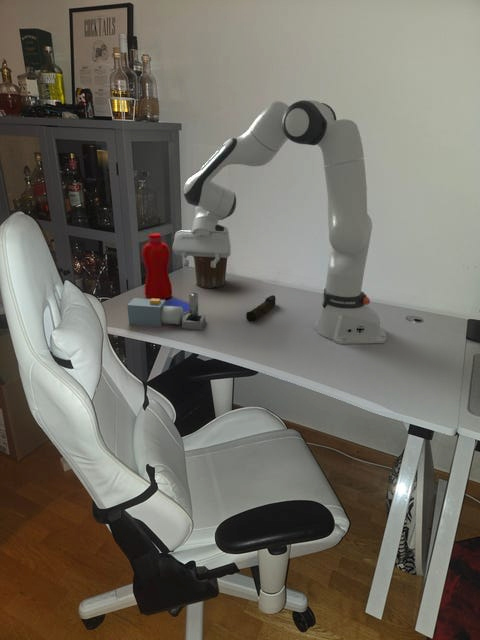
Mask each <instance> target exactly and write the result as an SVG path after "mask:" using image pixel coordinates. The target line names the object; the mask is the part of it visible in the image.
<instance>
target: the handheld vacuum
mask: <svg viewBox="0 0 480 640" xmlns="http://www.w3.org/2000/svg"><path fill="white" fill-rule="evenodd" d="M166 301H167V300H166V299H165V300H160V299H153V298H152V299H148V298H139V297H137V298H136V297H133V299H132V300H130V302H128V303H127V306H126V307H127V314H128V324H129V325H133V326H148V327H149V326H150V327H162V326H163V324H164V325H165V324H166V325H176V326H177V325H179V326H181V329H184V330H186V329H188V330H200V331H201V330H203V328H204V326H205V323H206V320H207V319H206V314H199V313H198V319H199V320H200V321H189V320H190V313H186V314H183V309H182V307H176V306H166ZM184 315H185V316H184Z"/></svg>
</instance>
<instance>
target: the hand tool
mask: <svg viewBox="0 0 480 640" xmlns="http://www.w3.org/2000/svg"><path fill="white" fill-rule="evenodd" d="M275 306H276V295H270V296H268V297H266V298H265V301H263V302H262V303H261V304H259V305H258V306H257V307H254V308H253V309H251V310H249V311H247V312H246V313H245V316H246V317H245V318H246V321H248V322H251V323H255V322H256V321H258V319H259V318H260V317H261V316H262V315H264V314H266V313H267V312H268V311H272V310H273V309H274V308H275Z"/></svg>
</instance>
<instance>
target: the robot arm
mask: <svg viewBox="0 0 480 640" xmlns="http://www.w3.org/2000/svg"><path fill="white" fill-rule="evenodd" d="M288 140H290V141H291V142H293V143H295V144H299V145H308V146H318V147H319V148H320V150H321V153H322V159H323V167H324V168H323V169H324V176H325V177H324V178H325V183H326V193H327V223H328V224H327V225H328V238H329V239H328V240H329V242H330V246H331V251H330V256H329V261H328V265H327V274H326V283H325V288H324V289H323V293H322V302H321V305H322V309H321V313H320V317H319V319H318V322H317V323H316V327H315V331H316V332H317V333H318V334H319V335H320V336H322V337H324V338H327V339H330V340H332V341H333V342H335V343H336V344H340V345H343V344H344V345H346V344H347V345H348V344H349V345H350V344H351V345H353V344H355V345H356V344H358V345H359V344H360V345H361V344H384V343H385V342H386V341H387V332H386V331H385V329H384V328H383V326H381V320H380V317H379V315H378V314H377V312H376V311H375V310H374V309H372V307H370V306H369V305H370V303H371V300H370V298H369V297H368V296H367V294H365V292H364V291H362V288H363V282H364V281H363V280H364V274H365V269H366V262H367V259H368V253H369V246H370V241H371V235H372V231H373V223H372V222H373V221H372V218H371V217H370V215H369V214H368V197H367V194H368V193H367V192H368V190H367V189H368V187H367V177H366V174H367V173H366V167H365V166H366V165H365V154H364V147H363V143H362V138H361V134H360V131H359V127H358V125H357V123H355V122H354V121H353V120H351V119H345V118H342V119H338V120H337V116H336V113H335V110H334V109H333V108H332V107H331V106H330V105H328V104H327V103H324V102H320V101H317V100H312V99H311V100H304V99H303V100H299V101H295V102H294V103H292V104H291V105H288V104H287V103H284V102H282V101H280V100H279V101H277V100H276V101H273V102H271V103H270V104H268V105H267V106H266V107H265V109H263V111H261V113H260V114H259V115H258V116H257V117H256V119H255V120H254V121H253V123H252V124H251V125H250V126H249V128H248V129H247V131H246V132H244V133H243V134H240V135H239V136H237V137H235V138H234V137H232V138H229V139H227V140H226V141H225V142H224V143H223V144H222V145H221V146H220V147H219V148H218V149H217V150H216V151H215V152H214V153H213V154H212V155H211V156H210V158H209V159H208V160H206V162H205V163H204V164H203V165H202V166H201V167H200V168H199V169H198V170H197V171H196V172H194V173H193V174H191V176H190V177H188V179H187V180H186V182H185V184H184V186H183V190H182V194H183V196H184V199H185V200H186V202H187V204H188V205H192V206H194V207H195V209H194V218H193V222H192V227H191V230H183V229H181V230H179V231H176V232H175V234H174V237H173V239H174V240H173V244H172V248H171V249H172V251H173V253H174V255H175V256H181V257H182V259H183V266H184V267H189V265H190V262H189V259H187V257H193V256H203V257H215V260H214V261H211V268H215V266H216V263H217V262H218V261H219V260H220V257H222V258H227V259H228V258H229V257H230V256H231V255H232V254H231V251H232V250H231V240H230V234H229V233H230V231H229V229H228V227H227V226H225V225H221V224H218V223H219V221H222V220H225V219H226V218H229V217H231V216H232V215H233V214H234V213H235V210H236V207H237V196H236V194H235V191H233V190H230V188H227V187H224V186H223V185H221V184H219V183H217V182H214V181H213V179H214V178H215V177H216V176H217V175H218V173H220V171H222V170H223V168H225V167H227V166H230V165H241V166H249V167H263V166H266V165H267V164H268V163H270V162H271V161H272V160H273V159H274V158H275V156H276V155H277V154H278V152H279V151H280V149H281V148H282V147H283V146H284V145H285V143H286V142H287V141H288Z"/></svg>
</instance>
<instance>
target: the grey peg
mask: <svg viewBox="0 0 480 640" xmlns="http://www.w3.org/2000/svg"><path fill="white" fill-rule="evenodd" d="M188 295H189V301H188V303H189V304H190V312H189V314H190V320H189V321H200V320H199V319H198V314H199V294H198V293H197V292H191V293H189V294H188Z"/></svg>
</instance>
